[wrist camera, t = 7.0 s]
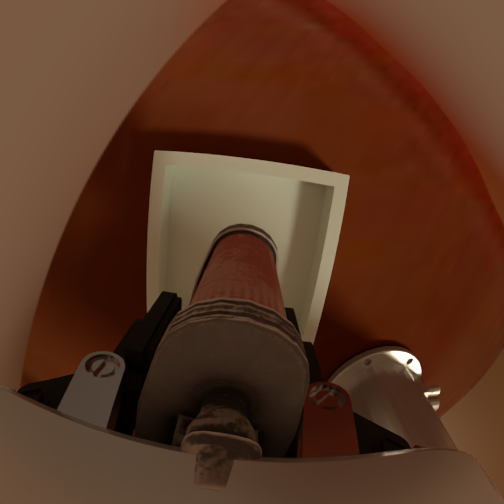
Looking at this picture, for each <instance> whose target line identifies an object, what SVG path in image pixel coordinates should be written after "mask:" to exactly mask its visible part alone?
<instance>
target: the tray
mask: <svg viewBox="0 0 504 504" xmlns="http://www.w3.org/2000/svg"><path fill="white" fill-rule="evenodd" d="M349 177H350V176H349V175H345V174H340V173H335V172H330V171H324V170H319V169H314V168H308V167H302V166H296V165H290V164H284V163H277V162H271V161H263V160H256V159H248V158H240V157H232V156H222V155H212V154H202V153H190V152H176V151H158V150H154V158H153V167H152V177H151V188H150V201H149V216H148V236H147V313H148V311H149V310H150V308H151V307H152V305H153V304H154V303H155V301H156V300H157V298H158V297H159V295H160V294H161V292H162V291H166V292H172V293H177V297H181V298H182V310H183V309H184V308H186V307H188V306H189V303H190V299H191V295H192V292H193V288H194V285H195V281H196V278H197V276H198V273H199V271H200V269H201V267H202V264H203V262H204V260H205V257H206V255H207V253H208V251H209V248H210V246H211V244H212V242H213V240H214V239H215V237H216V236H217V235H218V233H219V232H220V231H221V230H223V229H224V228H226V227H228V226H230V225H234V224H239V223H242V224H252V225H254V226H256V227H259V228H261V229H263V230H264V231H265V232H266V233H268V234H269V235H270V236H271V237H272V239H273V241H274V243H275V244H276V247H277V251H278V258H279V266H278V279H279V284H280V289H281V293H282V298H283V302H284V307H287V308H293V309H294V312H295V315H296V319H297V323H298V327H299V330H300V334H301V338H302V341H306V342H312V344H313V343H314V340H315V336H316V332H317V329H318V325H319V321H320V317H321V314H322V310H323V306H324V302H325V298H326V294H327V289H328V285H329V281H330V277H331V272H332V268H333V263H334V259H335V254H336V249H337V244H338V239H339V234H340V229H341V224H342V218H343V213H344V207H345V201H346V196H347V189H348V183H349Z"/></svg>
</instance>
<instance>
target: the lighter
mask: <svg viewBox="0 0 504 504" xmlns="http://www.w3.org/2000/svg"><path fill="white" fill-rule="evenodd" d="M278 266H279V258H278V251H277V247H276V244H275V243H274V241H273V239H272V237H271V236H270V235H269V234H268V233H266V232H265V231H264V230H263V229H261V228H259V227H256V226H254V225H252V224H242V223H239V224H234V225H230V226H228V227H226V228H224V229H223V230H221V231H220V232H219V233H218V235H217V236H216V237H215V239H214V240H213V242H212V244H211V246H210V248H209V251H208V253H207V255H206V257H205V260H204V262H203V264H202V267H201V269H200V271H199V273H198V276H197V278H196V281H195V285H194V288H193V292H192V295H191V299H190V303H189V306H188V307H186V308H184V309H183V310H181V311H179V312H178V313H177V315H176V316H175V317H174V319H173V320H172V321H171V323H170V324H169V325H168V327H167V329H166V331H165V333H164V335H163V337H162V339H161V341H160V343H159V345H158V347H157V349H156V352H155V355H154V358H153V360H152V363H151V366H150V369H149V372H148V375H147V377H146V380H145V383H144V386H143V389H142V392H141V395H140V398H139V401H138V408H137V417H136V427H135V437H137V438H141V439H145V440H149V441H153V442H158V443H162V444H167V445H171V446H176V447H181V449H182V450H184V451H186V452H188V453H191V454H195V455H196V464H195V474H194V484H193V487H194V488H201V489H208V490H215V491H225V488H226V485H227V482H228V479H229V476H230V473H231V470H232V467H233V463H234V460H256V459H260V458H262V457H273V458H284V456H285V454H286V452H287V450H288V448H289V446H290V444H291V442H292V440H293V438H294V436H295V434H296V431H297V427H298V424H299V420H300V417H301V413H302V409H303V405H304V402H305V398H306V394H307V390H308V386H309V381H310V380H309V364H308V360H307V356H306V352H305V348H304V345H303V341H302V339H301V337H300V335H299V334H298V332H297V330H296V329H295V327H294V325H293V324H292V323H291V322H290V321H289V320H287V317H286V312H285V307H284V302H283V298H282V293H281V289H280V284H279V279H278Z"/></svg>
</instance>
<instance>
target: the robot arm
mask: <svg viewBox="0 0 504 504" xmlns="http://www.w3.org/2000/svg"><path fill="white" fill-rule="evenodd" d="M181 310H182V298H181V297H177V293H172V292H166V291H162V292H161V294H160V295H159V297H158V298H157V300H156V301H155V303H154V304H153V305H152V307H151V308H150V310H149V311H148V313H147V314H146V316H145V317H144V319H143V320H141V319H137V320H136V321H135V322H134V323H133V325H132V326H131V328H130V329H129V330H128V332H127V333H126V335H125V336H124V337H123V339H122V340H121V342H120V343H119V345H118V346H117V348H116V349H115V351H114V352H113V353H112V352H107V351H99V352H94V353H91V354H89V355H87V356H86V357H84V359H83V360H82V361H81V363H80V365H79V367H78V369H77V371H76V372H75V374H71V375H67V376H63V377H59V378H54V379H50V380H45V381H40V382H36V383H31V384H28V385H25V386H23V387H22V388H20V389H19V390H18V391H17V392H16V391H15V389H8V388H5V387H3V386H1V385H0V504H504V501H503V499H502V497H501V495H500V493H499V491H498V490H497V488H496V486H495V484H494V483H493V481H492V480H491V478H490V476H489V475H488V473H487V472H486V471H485V469H484V468H483V466H482V465H481V464H480V463H479V462H478V461H477V460H476V459H475V458H474V457H473V456H472V455H470V454H468V453H466V452H463V451H460V450H458V448H457V446H456V445H455V443H454V441H453V439H452V438H451V436H450V434H449V433H448V431H447V429H446V428H445V426H444V424H443V423H442V421H441V419H440V418H439V416H438V415H437V413H436V411H435V410H437V409H438V407H439V399H438V398H437V397H431V398H427V397H428V396H436V395H438V394H439V393H440V386H439V385H433V386H429V387H426V386H425V385H424V383H423V382H422V380H421V375H422V370H421V365H420V362H419V361H418V359H417V358H416V356H415V355H414V354H413V353H412V352H411V351H409V350H407V349H405V348H403V347H398V346H384V347H378V348H374V349H371V350H368V351H365V352H363V353H361V354H359V355H357V356H355V357H353V358H352V359H350V360H349V361H347V362H346V363H344V364H343V365H342V366H341V367H339V368H338V369H337V370H336V371H335V372H334V373H333V374H332V376H331V377H330V378H329V380H328V381H327V382H324V380H323V377H322V374H321V370H320V367H319V364H318V360H317V357H316V354H315V351H314V347H313V344H312V342H306V341H303V345H304V348H305V352H306V356H307V360H308V364H309V380H310V381H309V386H308V390H307V394H306V398H305V402H304V405H303V409H302V413H301V417H300V420H299V424H298V427H297V431H296V434H295V436H294V438H293V440H292V442H291V444H290V446H289V448H288V450H287V452H286V454H285V456H284V458H273V457H262V458H260V459H256V460H234V463H233V467H232V470H231V473H230V476H229V479H228V482H227V485H226V488H225V491H215V490H208V489H201V488H194V487H193V484H194V474H195V464H196V455H195V454H191V453H188V452H186V451H184V450H182V449H181V447H176V446H171V445H167V444H162V443H158V442H153V441H149V440H145V439H141V438H137V437H135V427H136V417H137V408H138V401H139V398H140V395H141V392H142V389H143V386H144V383H145V380H146V377H147V375H148V372H149V369H150V366H151V363H152V360H153V358H154V355H155V352H156V349H157V347H158V345H159V343H160V341H161V339H162V337H163V335H164V333H165V331H166V329H167V327H168V325H169V324H170V323H171V321H172V320H173V319H174V317H175V316H176V315H177V313H178V312H179V311H181ZM285 312H286V317H287V320H289V321H290V322H291V323H292V324H293V325H294V327H295V329H296V330H297V332H298V334H299V335H300V337H301V334H300V330H299V327H298V323H297V319H296V315H295V312H294V309H293V308H287V307H285ZM301 339H302V338H301Z"/></svg>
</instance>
